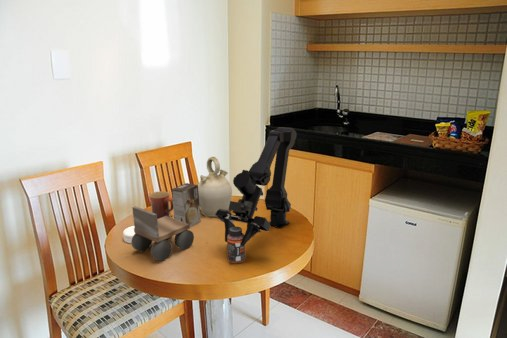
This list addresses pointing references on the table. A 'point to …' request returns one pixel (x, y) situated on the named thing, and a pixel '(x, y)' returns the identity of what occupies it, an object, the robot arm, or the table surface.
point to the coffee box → (186, 203)
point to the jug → (214, 190)
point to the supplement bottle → (235, 245)
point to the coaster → (128, 234)
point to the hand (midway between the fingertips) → (233, 243)
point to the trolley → (159, 233)
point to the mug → (161, 203)
